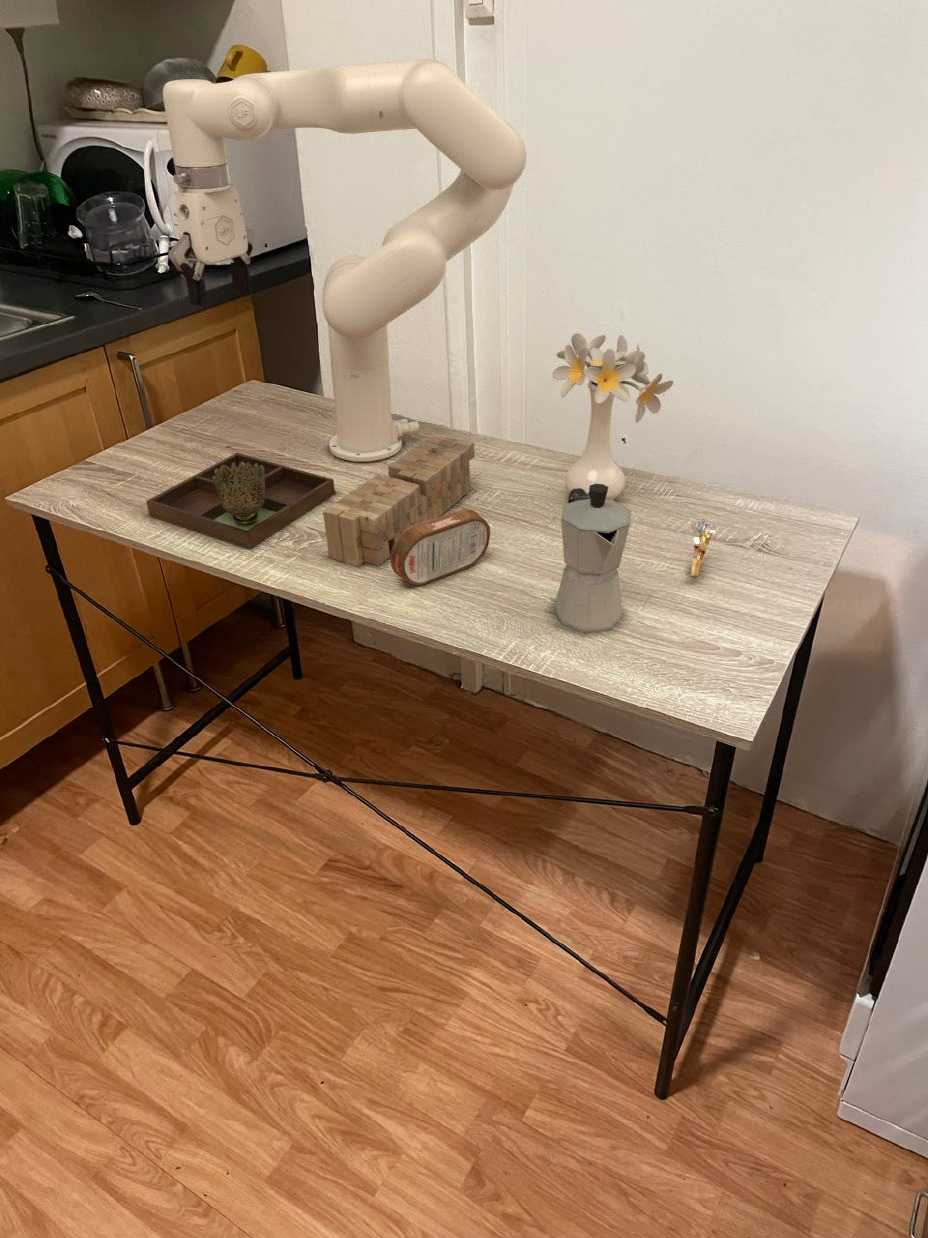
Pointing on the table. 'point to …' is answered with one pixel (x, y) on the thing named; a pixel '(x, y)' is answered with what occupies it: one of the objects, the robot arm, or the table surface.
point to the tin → (440, 546)
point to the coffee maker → (591, 560)
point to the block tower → (398, 500)
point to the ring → (700, 543)
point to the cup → (241, 490)
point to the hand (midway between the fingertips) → (221, 297)
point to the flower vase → (605, 404)
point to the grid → (205, 514)
